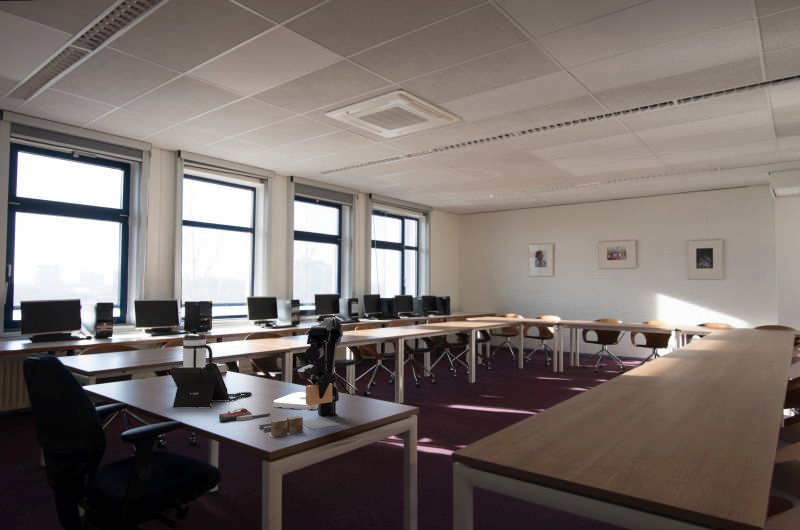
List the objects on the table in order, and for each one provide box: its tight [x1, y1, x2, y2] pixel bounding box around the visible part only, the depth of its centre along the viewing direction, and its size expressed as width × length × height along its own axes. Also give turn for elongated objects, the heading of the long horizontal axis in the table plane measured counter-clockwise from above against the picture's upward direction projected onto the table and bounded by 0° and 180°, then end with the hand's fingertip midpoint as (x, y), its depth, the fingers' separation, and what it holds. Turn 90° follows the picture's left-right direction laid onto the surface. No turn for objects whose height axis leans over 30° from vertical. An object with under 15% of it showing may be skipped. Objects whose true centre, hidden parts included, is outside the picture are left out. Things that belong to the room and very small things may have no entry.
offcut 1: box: [270, 417, 288, 437], centre depth 179 cm, size 5×3×5 cm, turn 125°
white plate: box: [273, 391, 318, 411], centre depth 229 cm, size 22×22×3 cm
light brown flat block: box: [305, 383, 332, 405], centre depth 193 cm, size 10×3×7 cm, turn 125°
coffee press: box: [182, 328, 213, 368], centre depth 285 cm, size 17×16×30 cm
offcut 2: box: [286, 415, 304, 434], centre depth 182 cm, size 5×3×5 cm, turn 125°
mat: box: [303, 417, 341, 431], centre depth 193 cm, size 12×13×1 cm
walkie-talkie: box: [218, 407, 271, 423], centre depth 202 cm, size 9×4×20 cm
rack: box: [258, 422, 306, 438], centre depth 185 cm, size 13×15×2 cm
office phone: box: [169, 361, 253, 409], centre depth 235 cm, size 29×28×20 cm
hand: (319, 397), depth 193 cm, fingers closed on light brown flat block, 3 cm apart
